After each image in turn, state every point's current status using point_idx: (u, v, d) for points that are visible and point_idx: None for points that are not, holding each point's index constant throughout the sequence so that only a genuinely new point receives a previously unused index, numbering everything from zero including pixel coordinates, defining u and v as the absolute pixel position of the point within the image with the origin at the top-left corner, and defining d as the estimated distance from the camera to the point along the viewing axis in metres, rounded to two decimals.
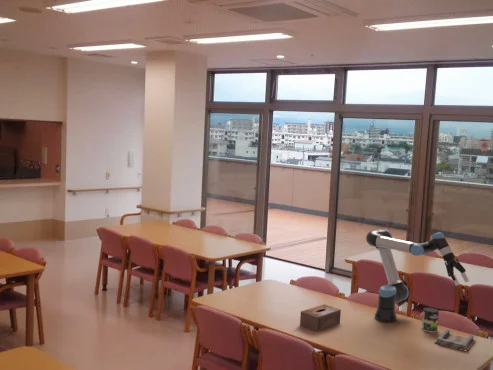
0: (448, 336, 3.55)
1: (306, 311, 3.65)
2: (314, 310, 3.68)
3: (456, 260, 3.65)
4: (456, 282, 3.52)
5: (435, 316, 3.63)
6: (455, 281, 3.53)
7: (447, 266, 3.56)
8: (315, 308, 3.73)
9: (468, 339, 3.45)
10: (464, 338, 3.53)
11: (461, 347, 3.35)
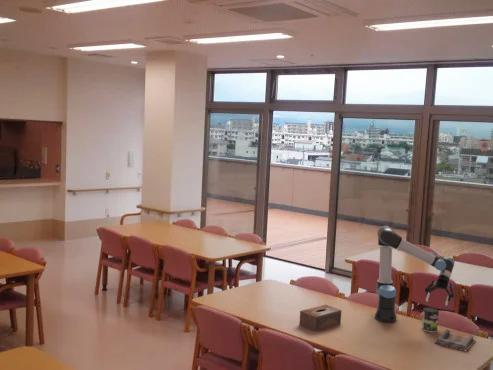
0: (448, 336, 3.55)
1: (306, 311, 3.66)
2: (314, 310, 3.68)
3: None
4: (447, 303, 3.72)
5: (435, 316, 3.63)
6: (447, 301, 3.72)
7: None
8: (315, 308, 3.73)
9: (468, 339, 3.45)
10: (464, 338, 3.53)
11: (461, 347, 3.35)
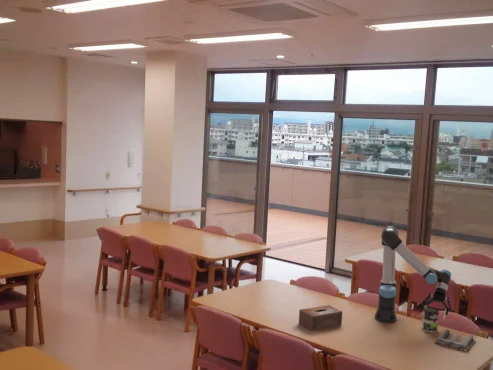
0: (448, 336, 3.55)
1: (305, 310, 3.68)
2: (313, 310, 3.69)
3: None
4: (445, 316, 3.67)
5: (435, 316, 3.63)
6: (445, 315, 3.67)
7: (449, 302, 3.72)
8: (316, 308, 3.73)
9: (468, 339, 3.45)
10: (464, 338, 3.53)
11: (461, 347, 3.35)
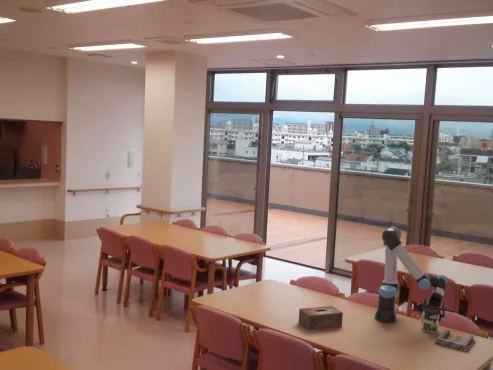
0: (448, 336, 3.55)
1: (305, 309, 3.69)
2: (313, 309, 3.70)
3: None
4: (437, 323, 3.64)
5: (435, 316, 3.63)
6: (438, 321, 3.64)
7: (444, 308, 3.69)
8: (317, 308, 3.74)
9: (468, 339, 3.45)
10: (464, 338, 3.53)
11: (461, 347, 3.35)
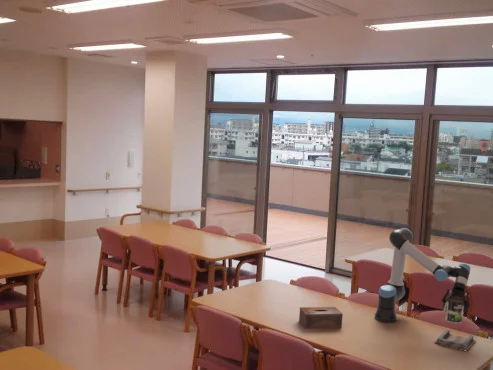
0: (448, 336, 3.55)
1: (305, 308, 3.72)
2: (314, 309, 3.71)
3: None
4: (462, 313, 3.46)
5: (460, 306, 3.46)
6: (463, 312, 3.46)
7: (468, 298, 3.51)
8: (319, 308, 3.74)
9: (468, 339, 3.45)
10: (464, 338, 3.53)
11: (461, 347, 3.35)
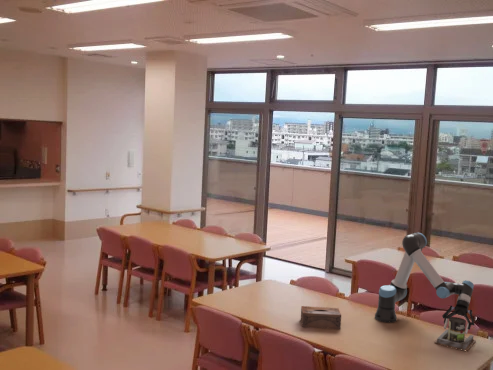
0: None
1: (306, 307, 3.74)
2: (314, 308, 3.72)
3: None
4: (467, 331, 3.42)
5: (462, 327, 3.42)
6: (467, 329, 3.42)
7: None
8: (320, 308, 3.74)
9: (468, 339, 3.45)
10: (464, 338, 3.53)
11: (461, 347, 3.35)
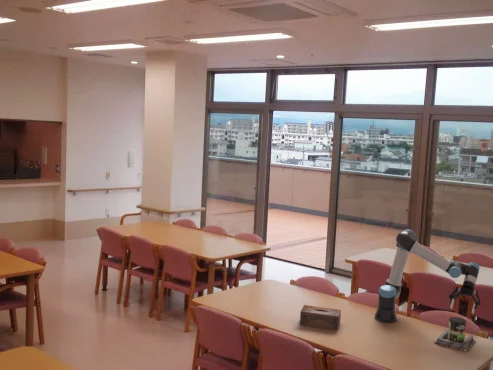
0: None
1: (308, 306, 3.76)
2: (315, 308, 3.72)
3: (458, 289, 3.66)
4: (473, 310, 3.52)
5: (462, 327, 3.42)
6: (474, 309, 3.52)
7: None
8: (322, 308, 3.74)
9: (468, 339, 3.45)
10: (464, 338, 3.53)
11: (461, 347, 3.35)
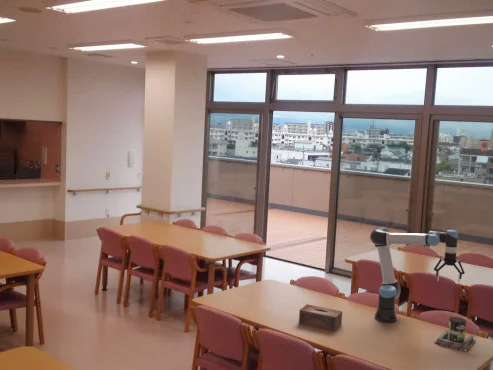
0: None
1: (310, 306, 3.77)
2: (316, 308, 3.73)
3: None
4: None
5: (462, 327, 3.42)
6: (459, 279, 3.75)
7: None
8: (323, 308, 3.73)
9: (468, 339, 3.45)
10: (464, 338, 3.53)
11: (461, 347, 3.35)
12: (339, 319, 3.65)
